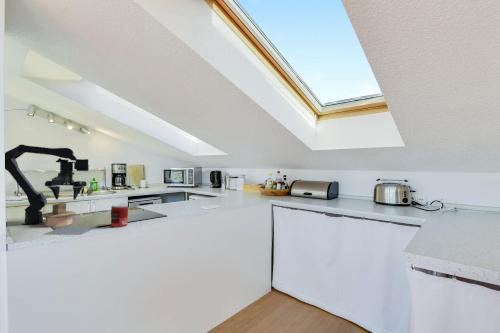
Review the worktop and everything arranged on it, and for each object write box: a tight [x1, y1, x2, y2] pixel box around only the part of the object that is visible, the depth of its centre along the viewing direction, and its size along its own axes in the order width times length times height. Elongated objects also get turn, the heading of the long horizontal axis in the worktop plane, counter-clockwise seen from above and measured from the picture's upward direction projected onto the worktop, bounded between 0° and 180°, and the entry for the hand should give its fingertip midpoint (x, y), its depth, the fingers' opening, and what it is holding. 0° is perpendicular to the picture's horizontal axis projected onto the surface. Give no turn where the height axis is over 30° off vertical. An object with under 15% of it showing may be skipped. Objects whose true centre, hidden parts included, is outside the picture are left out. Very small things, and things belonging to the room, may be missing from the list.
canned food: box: [110, 203, 129, 228], centre depth 133 cm, size 8×8×11 cm
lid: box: [42, 202, 77, 219], centre depth 133 cm, size 14×14×6 cm
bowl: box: [44, 216, 73, 228], centre depth 133 cm, size 10×10×5 cm
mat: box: [42, 225, 100, 236], centre depth 122 cm, size 16×16×1 cm
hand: (65, 199), depth 140 cm, fingers open, 9 cm apart
